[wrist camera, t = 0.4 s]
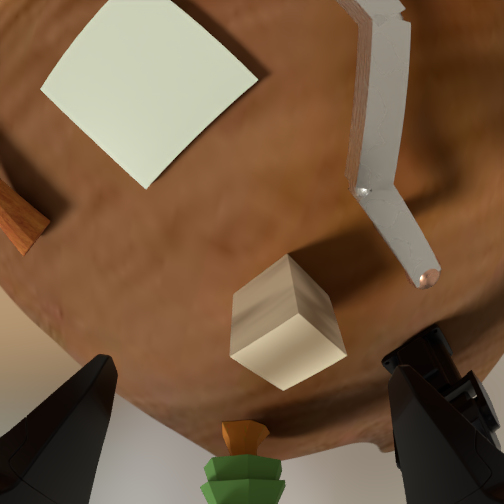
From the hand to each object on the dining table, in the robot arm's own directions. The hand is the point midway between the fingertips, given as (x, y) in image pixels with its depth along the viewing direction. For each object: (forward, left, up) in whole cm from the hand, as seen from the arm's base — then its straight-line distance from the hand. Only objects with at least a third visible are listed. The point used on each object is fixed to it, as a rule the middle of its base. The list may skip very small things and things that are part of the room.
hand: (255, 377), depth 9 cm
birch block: (-6, +3, -12) cm, 14 cm away
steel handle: (+2, -8, -12) cm, 15 cm away
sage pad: (+11, -1, -12) cm, 16 cm away
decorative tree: (-20, +20, -13) cm, 31 cm away
